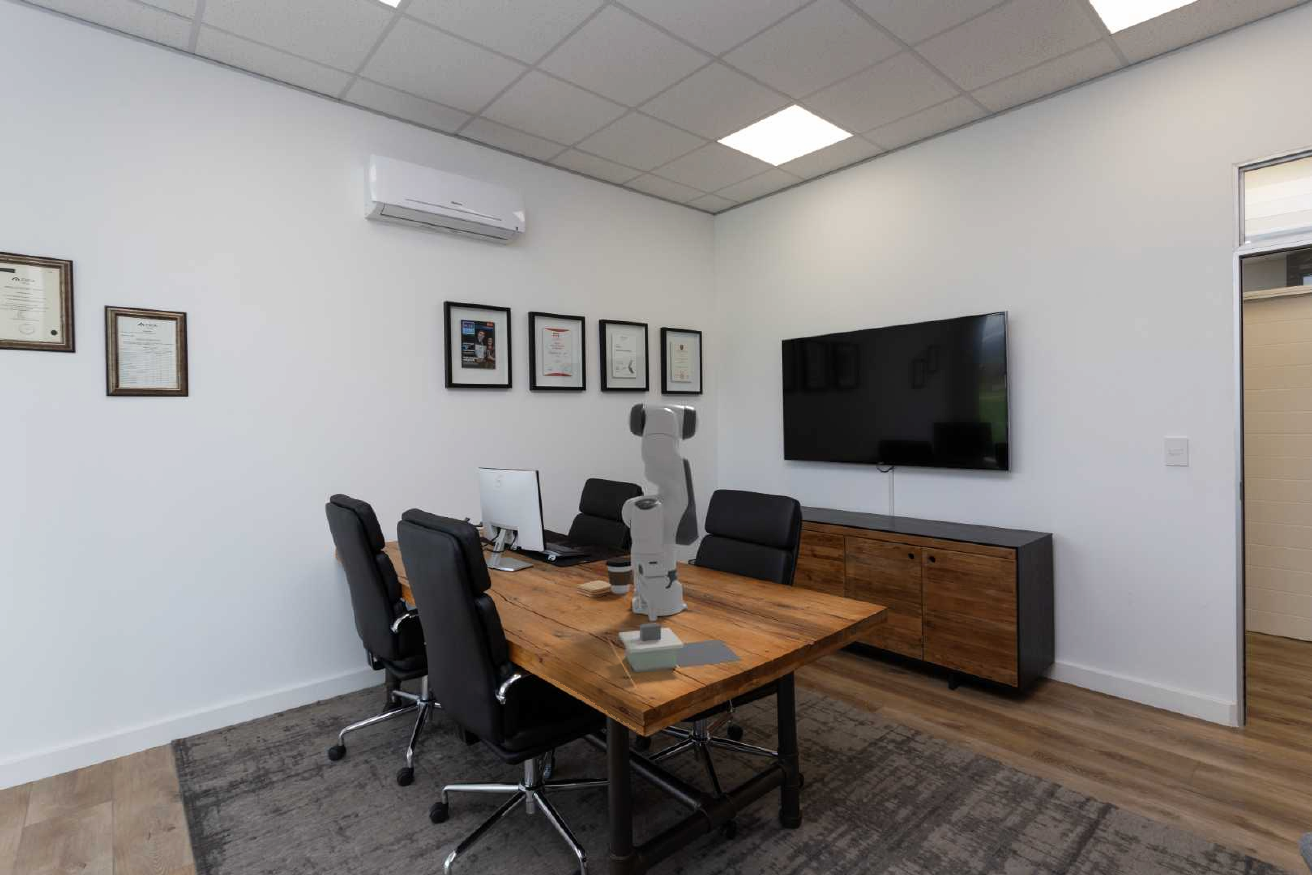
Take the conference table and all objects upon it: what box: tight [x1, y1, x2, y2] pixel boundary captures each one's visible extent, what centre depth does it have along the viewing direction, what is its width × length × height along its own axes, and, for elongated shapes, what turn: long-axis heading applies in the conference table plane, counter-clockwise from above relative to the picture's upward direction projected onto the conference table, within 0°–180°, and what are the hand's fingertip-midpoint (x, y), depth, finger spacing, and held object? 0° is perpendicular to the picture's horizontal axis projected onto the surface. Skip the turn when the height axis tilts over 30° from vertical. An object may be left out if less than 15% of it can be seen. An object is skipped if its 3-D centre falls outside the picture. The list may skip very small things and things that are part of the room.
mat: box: [676, 639, 743, 668], centre depth 177 cm, size 17×17×1 cm
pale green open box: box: [624, 645, 678, 674], centre depth 170 cm, size 11×11×6 cm
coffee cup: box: [604, 556, 633, 595], centre depth 243 cm, size 11×11×12 cm
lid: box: [618, 622, 684, 653], centre depth 170 cm, size 14×14×4 cm
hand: (648, 614), depth 170 cm, fingers open, 8 cm apart
